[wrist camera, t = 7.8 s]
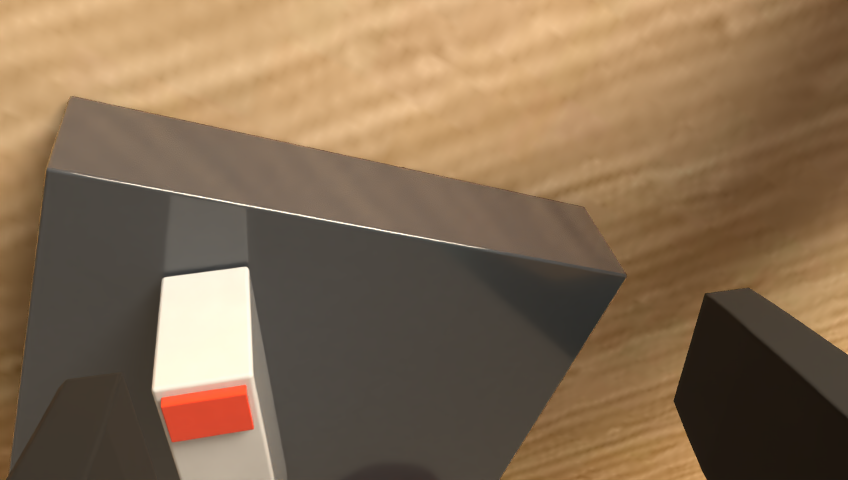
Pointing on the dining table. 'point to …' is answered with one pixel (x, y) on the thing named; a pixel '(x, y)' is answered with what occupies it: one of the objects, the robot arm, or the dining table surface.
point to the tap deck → (314, 291)
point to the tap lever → (215, 379)
